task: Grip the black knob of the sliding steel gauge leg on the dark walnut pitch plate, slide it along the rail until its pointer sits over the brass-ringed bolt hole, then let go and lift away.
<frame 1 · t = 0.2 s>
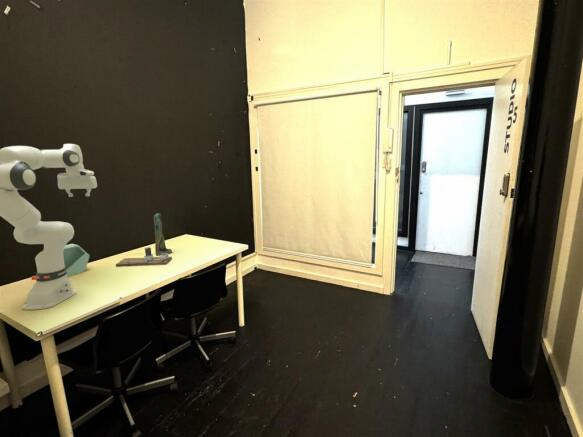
hand: (79, 196, 178), 48 cm above the table, fingers open, 8 cm apart
planter: (72, 273, 188), on the table
divider leg: (147, 254, 202), point 6 cm above the table, slide at 0.0 cm
statue: (163, 253, 224), on the table
pitch plate: (144, 262, 205), on the table
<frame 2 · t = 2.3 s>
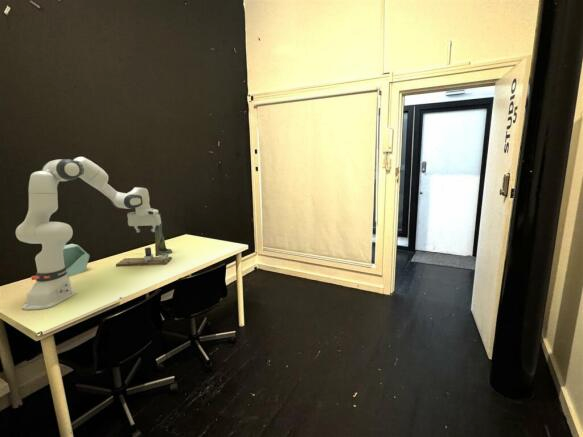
hand: (145, 232, 201), 21 cm above the table, fingers open, 8 cm apart
nothing on the table moved.
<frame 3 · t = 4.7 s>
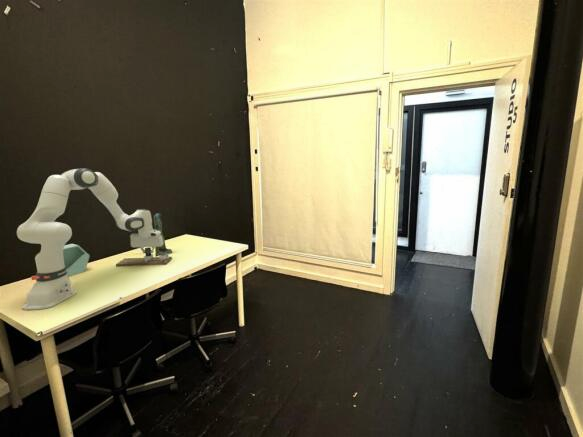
hand: (148, 253, 203), 7 cm above the table, fingers closed on divider leg, 4 cm apart
divider leg: (147, 254, 202), point 6 cm above the table, slide at 0.0 cm, touching gripper
everything else where it was.
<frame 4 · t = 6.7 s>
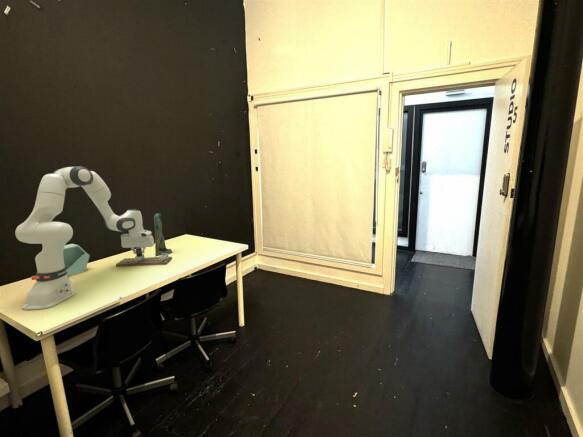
hand: (139, 253, 203), 7 cm above the table, fingers closed on divider leg, 4 cm apart
divider leg: (138, 254, 202), point 6 cm above the table, slide at 6.0 cm, touching gripper
everything else where it was.
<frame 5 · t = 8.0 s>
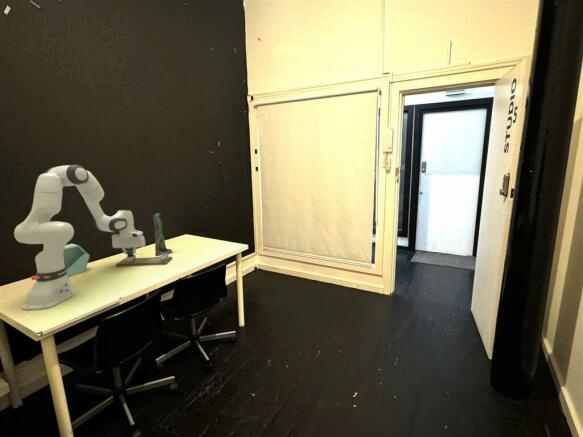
hand: (130, 253, 203), 7 cm above the table, fingers closed on divider leg, 4 cm apart
divider leg: (129, 255, 202), point 6 cm above the table, slide at 11.8 cm, touching gripper
everything else where it was.
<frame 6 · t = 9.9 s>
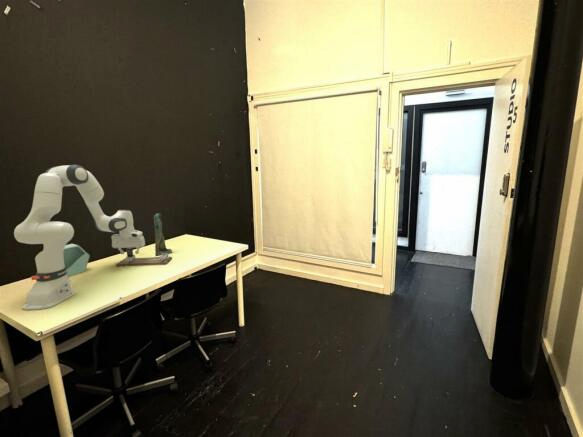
hand: (129, 253, 203), 7 cm above the table, fingers open, 8 cm apart
divider leg: (129, 255, 202), point 6 cm above the table, slide at 12.0 cm
everything else where it was.
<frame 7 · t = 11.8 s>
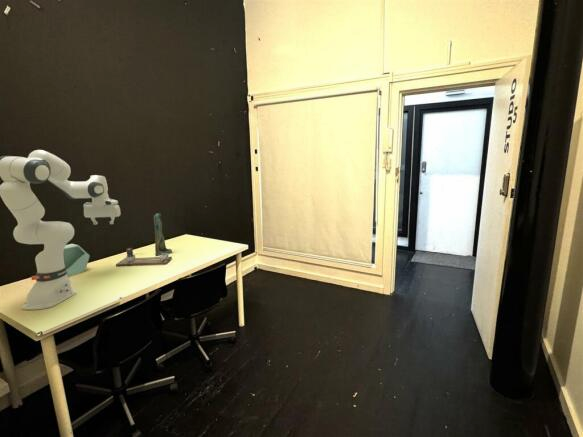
hand: (103, 224, 186), 30 cm above the table, fingers open, 8 cm apart
nothing on the table moved.
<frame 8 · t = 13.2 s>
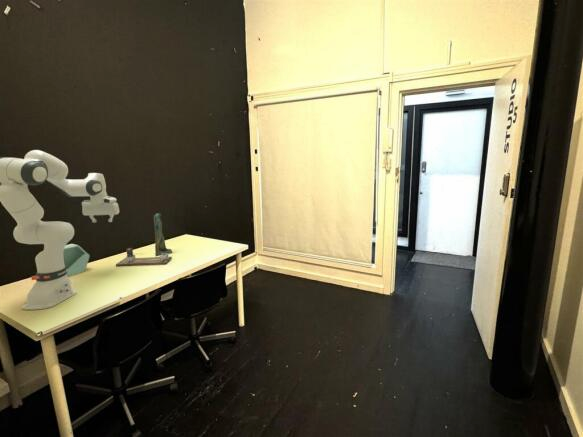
hand: (102, 222, 186), 31 cm above the table, fingers open, 8 cm apart
nothing on the table moved.
at the end: divider leg slide at 12.0 cm; the gripper is holding nothing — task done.
